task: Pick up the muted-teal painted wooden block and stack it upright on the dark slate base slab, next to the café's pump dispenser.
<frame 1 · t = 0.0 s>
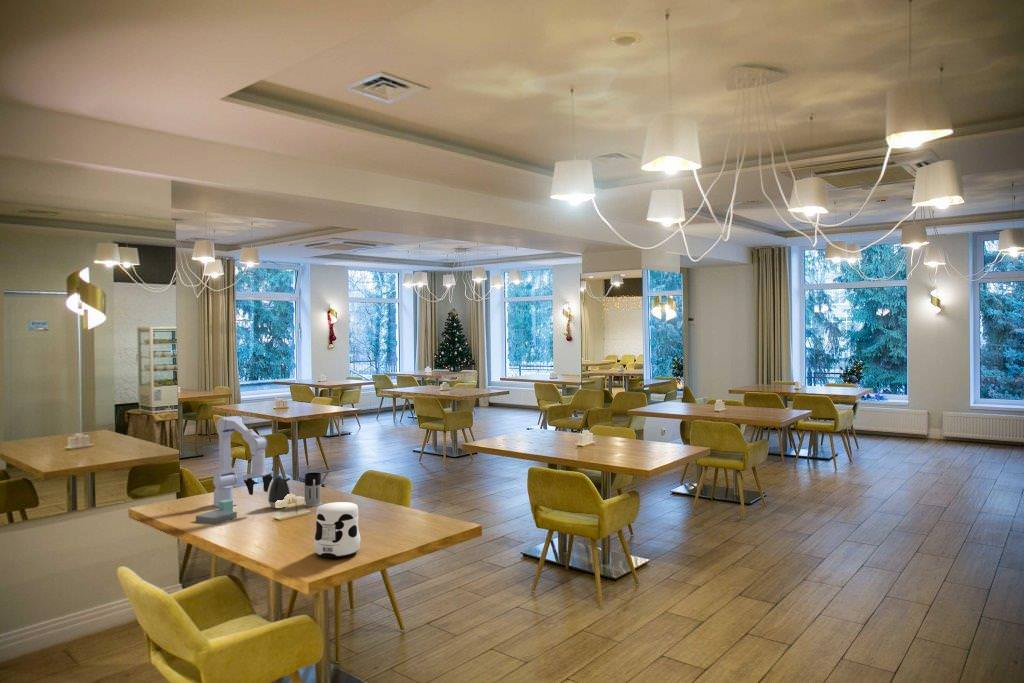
hand: (258, 493, 317), 10 cm above the table, fingers open, 7 cm apart
teal block: (225, 513, 319), on the table
glass holder: (313, 506, 334), on the table
milk container: (337, 554, 261), on the table
slate base: (216, 519, 309), on the table
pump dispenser: (279, 507, 331), on the table
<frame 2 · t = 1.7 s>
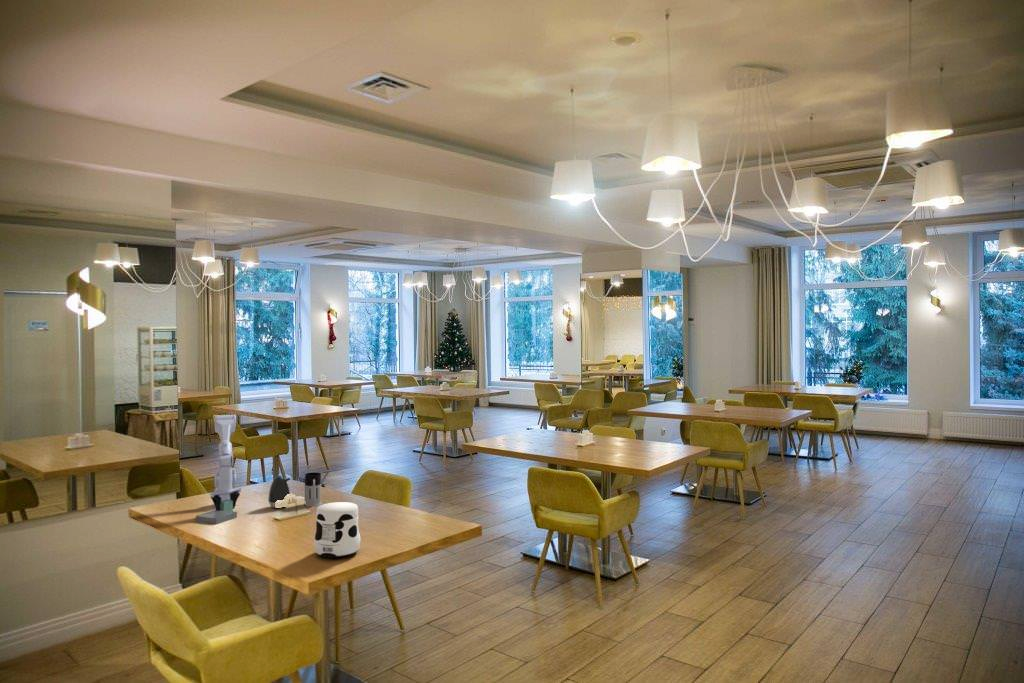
hand: (225, 509, 319), 2 cm above the table, fingers open, 7 cm apart
nothing on the table moved.
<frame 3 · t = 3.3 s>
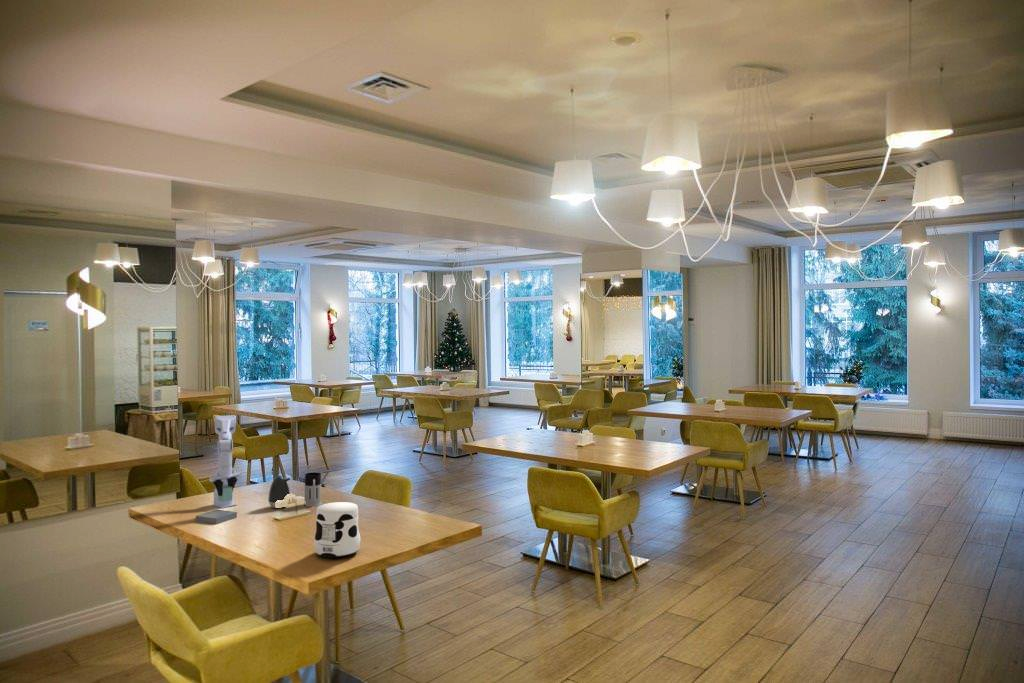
hand: (225, 494, 318), 9 cm above the table, fingers closed on teal block, 4 cm apart
teal block: (225, 500, 318), point 6 cm above the table, touching gripper
everything else where it was.
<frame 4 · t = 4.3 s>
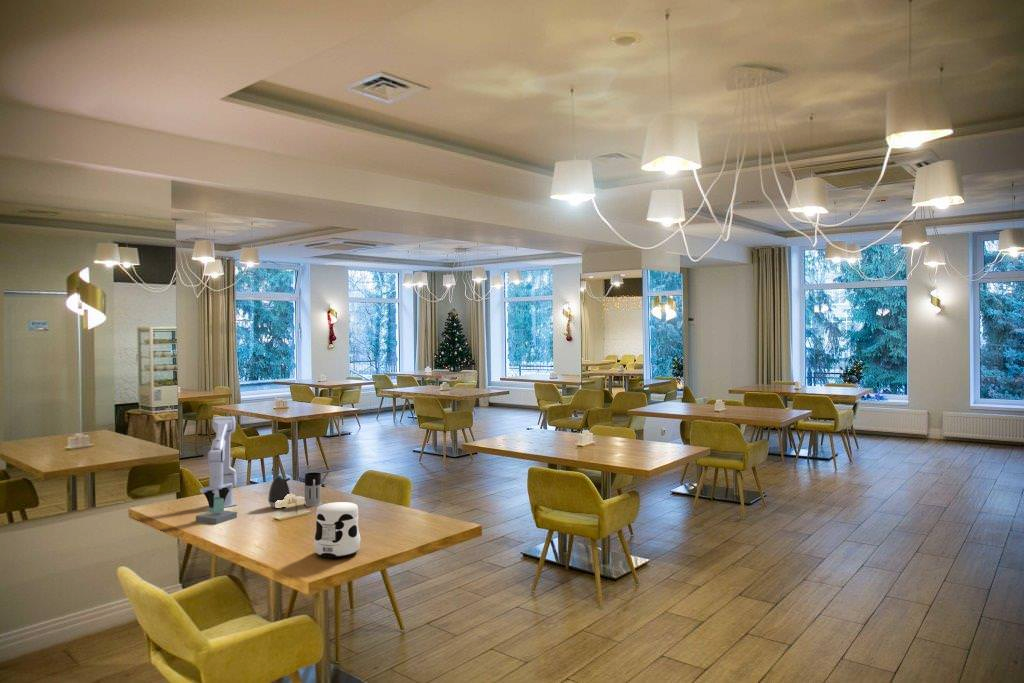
hand: (216, 506, 309), 6 cm above the table, fingers closed on teal block, 4 cm apart
teal block: (216, 511, 309), point 3 cm above the table, touching gripper
everything else where it was.
when the fingers open (5 cm above the table, at t = 4.9 s): teal block stays where it is, resting on slate base.
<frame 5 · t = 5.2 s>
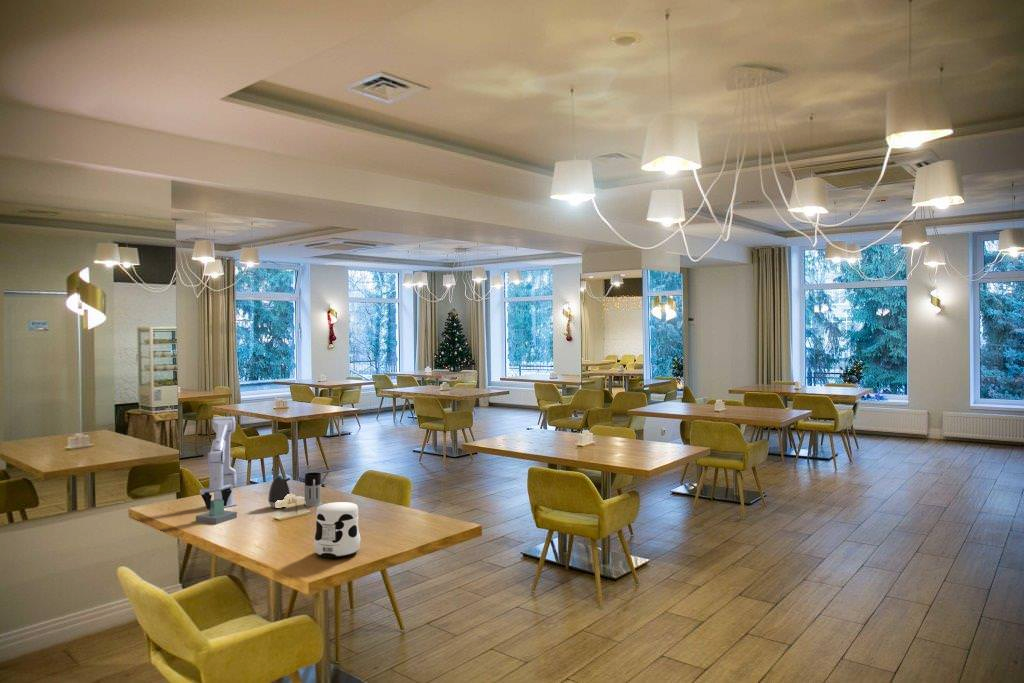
hand: (216, 507, 309), 5 cm above the table, fingers open, 7 cm apart
teal block: (216, 513, 309), point 2 cm above the table, touching slate base
everything else where it was.
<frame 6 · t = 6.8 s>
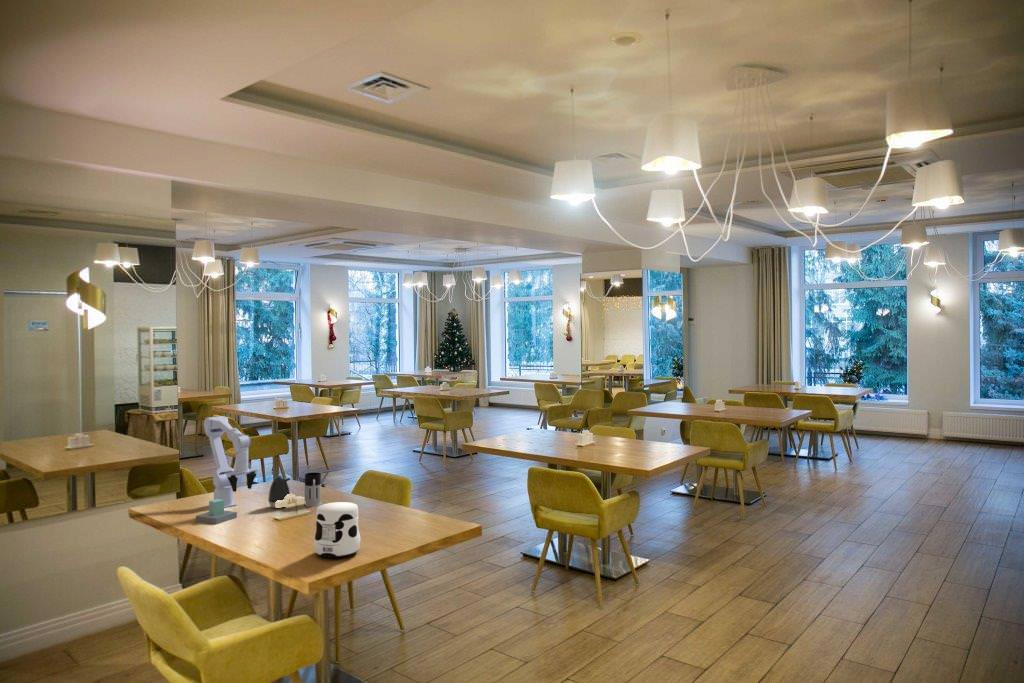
hand: (242, 489, 324), 10 cm above the table, fingers open, 7 cm apart
nothing on the table moved.
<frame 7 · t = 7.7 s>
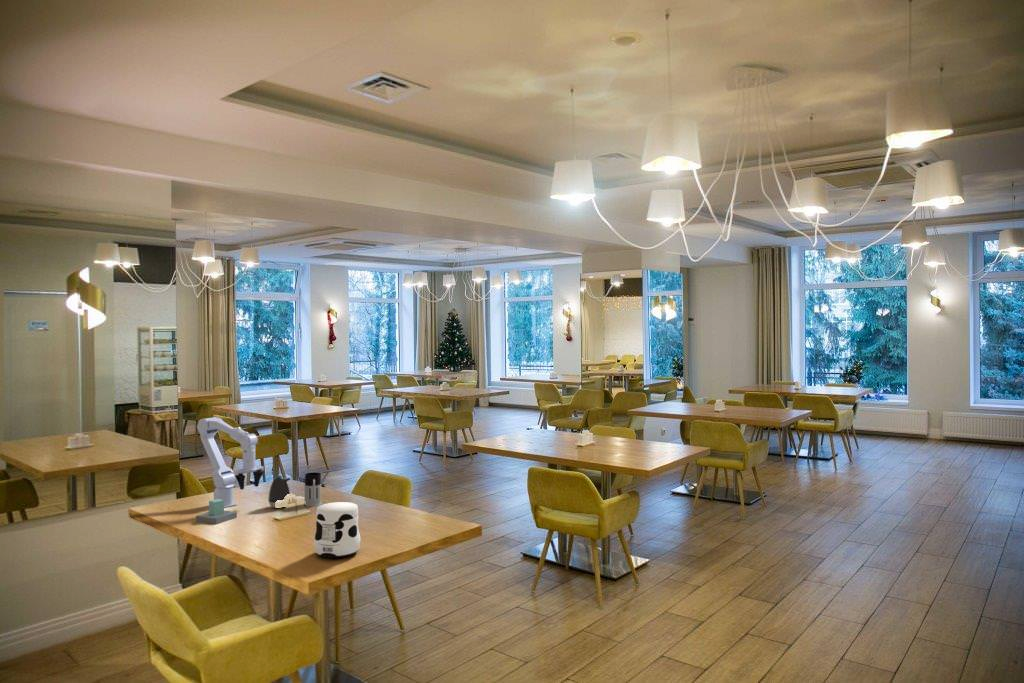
hand: (249, 487, 329), 10 cm above the table, fingers open, 7 cm apart
nothing on the table moved.
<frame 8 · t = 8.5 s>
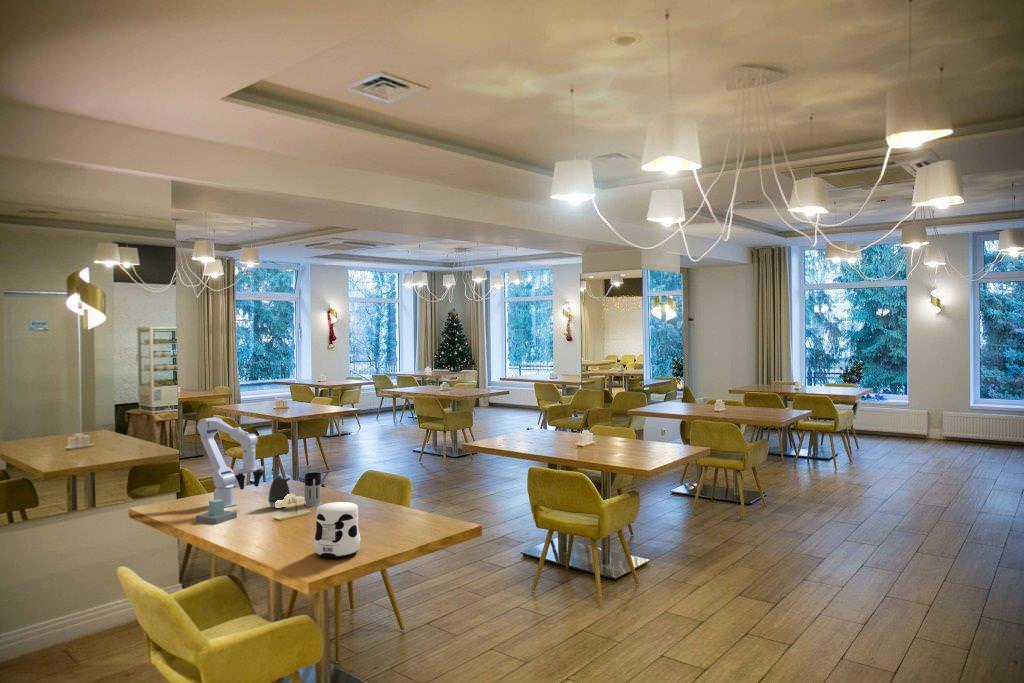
hand: (249, 487, 329), 10 cm above the table, fingers open, 7 cm apart
nothing on the table moved.
at the end: teal block inside the target area on the slate base (0.1 cm from its centre), point 2.5 cm above the slate base's base; teal block tilted 0°; the gripper is holding nothing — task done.
